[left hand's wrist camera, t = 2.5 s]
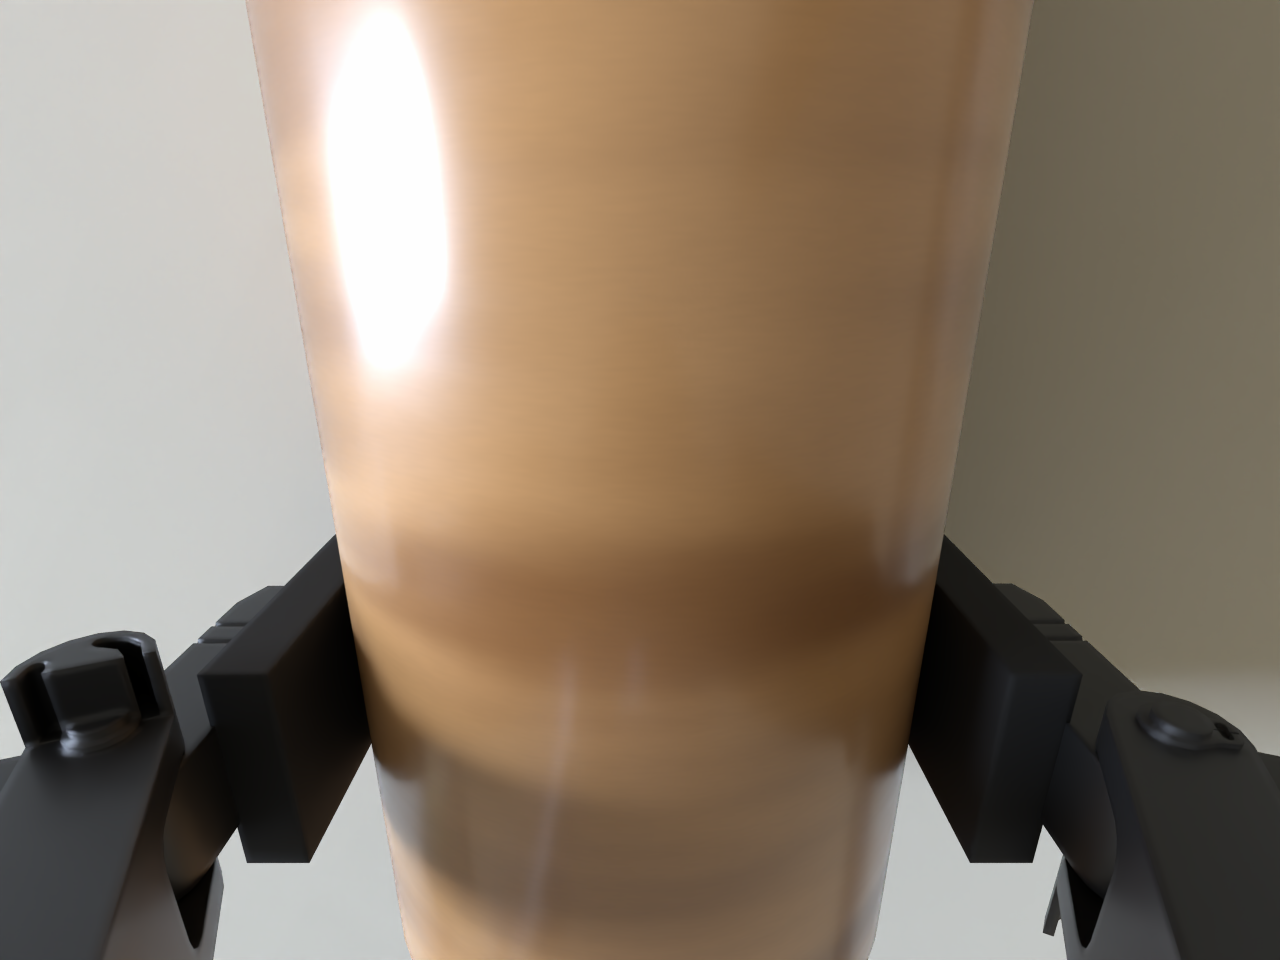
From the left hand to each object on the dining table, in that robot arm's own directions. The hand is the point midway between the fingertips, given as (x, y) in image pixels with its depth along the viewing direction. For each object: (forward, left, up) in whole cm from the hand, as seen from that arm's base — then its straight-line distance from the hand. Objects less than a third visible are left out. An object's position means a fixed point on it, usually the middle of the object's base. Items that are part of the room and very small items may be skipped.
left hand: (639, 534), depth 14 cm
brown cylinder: (+9, +5, 0) cm, 10 cm away
